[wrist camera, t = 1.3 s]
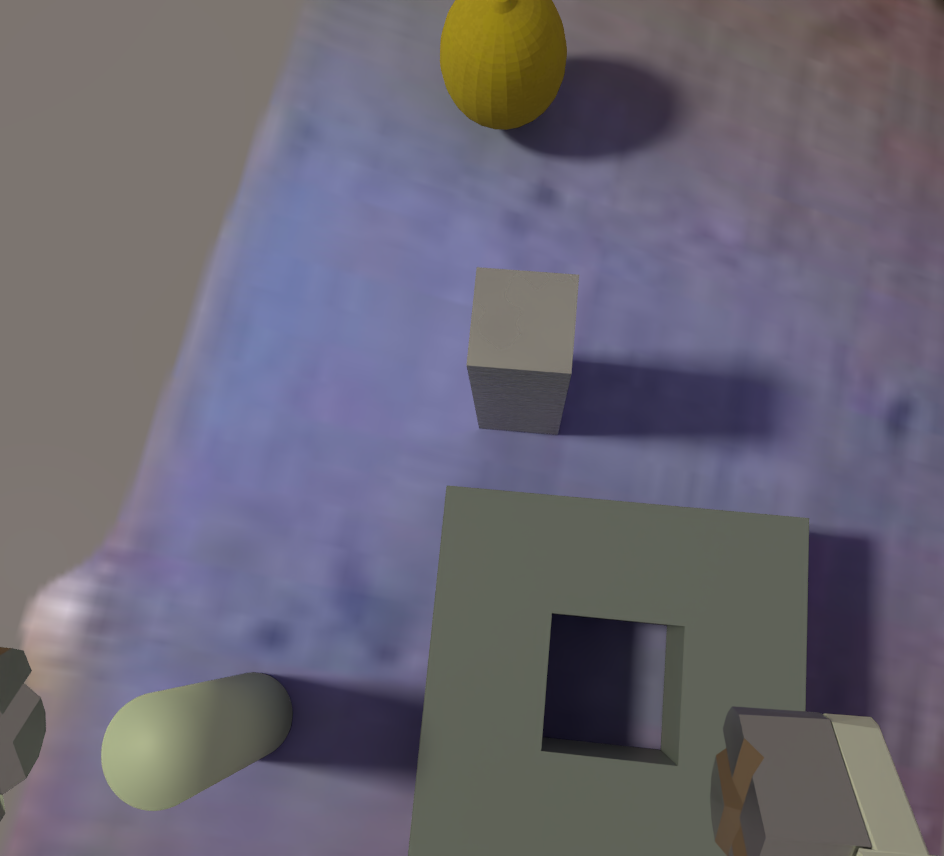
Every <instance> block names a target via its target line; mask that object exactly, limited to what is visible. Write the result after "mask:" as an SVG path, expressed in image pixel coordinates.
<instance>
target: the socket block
mask: <svg viewBox="0 0 944 856" xmlns="http://www.w3.org/2000/svg"><path fill="white" fill-rule="evenodd" d="M808 552H809V518H800V517H789V516H778V515H767V514H756V513H745V512H734V511H723V510H712V509H701V508H690V507H678V506H667V505H656V504H645V503H634V502H623V501H612V500H601V499H590V498H579V497H568V496H557V495H545V494H534V493H523V492H512V491H501V490H490V489H479V488H468V487H457V486H447V487H446V497H445V506H444V516H443V525H442V535H441V545H440V554H439V564H438V573H437V583H436V592H435V602H434V611H433V621H432V631H431V640H430V650H429V659H428V669H427V678H426V688H425V697H424V707H423V717H422V726H421V736H420V745H419V755H418V764H417V774H416V784H415V793H414V803H413V812H412V822H411V831H410V841H409V850H408V856H727V855H726V854H725V853H724V852H723V851H722V849H721V848H720V847H719V846H718V845H717V844H716V842H715V840H714V833H713V827H712V820H711V807H710V791H711V775H712V770H713V766H714V761H715V757H716V755H717V754H718V753H720V752H721V751H723V750H724V749H725V748H726V744H725V738H724V733H723V726H724V722H725V719H726V715H727V713H728V711H729V710H730V708H731V707H732V706H735V707H749V708H763V709H778V710H792V711H805V708H806V656H807V604H808ZM552 614H559V615H569V616H579V617H589V618H599V619H609V620H619V621H629V622H639V623H649V624H659V625H667V636H666V656H665V676H664V695H663V715H662V734H661V750H657V749H648V748H638V747H629V746H620V745H611V744H602V743H593V742H584V741H574V740H565V739H556V738H547V737H542V734H543V721H544V708H545V695H546V682H547V669H548V656H549V644H550V631H551V618H552Z"/></svg>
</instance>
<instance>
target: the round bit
mask: <svg viewBox="0 0 944 856" xmlns="http://www.w3.org/2000/svg"><path fill="white" fill-rule="evenodd" d="M292 716H293V711H292V704H291V700H290V697H289V695H288V693H287V691H286V690H285V688H284V687H283V686H282V685H281V684H280V683H279V682H278V681H277V680H276V679H274V678H273V677H271V676H269V675H266V674H263V673H256V672H251V673H244V674H239V675H235V676H230V677H225V678H220V679H215V680H211V681H206V682H201V683H196V684H191V685H186V686H182V687H177V688H172V689H167V690H162V691H158V692H153V693H148V694H144V695H142V696H139V697H137V698H135V699H133V700H131V701H130V702H129V703H127V704H126V705H125V706H123V707H122V708H121V709H120V710H119V711H118V712H117V714H116V715H115V716H114V718H113V719H112V720H111V722H110V724H109V726H108V728H107V730H106V733H105V735H104V739H103V743H102V750H101V760H102V768H103V772H104V775H105V778H106V780H107V782H108V784H109V786H110V788H111V789H112V790H113V792H114V793H115V794H116V795H117V796H118V797H119V798H120V799H121V800H123V801H124V802H125V803H127V804H129V805H131V806H133V807H135V808H138V809H142V810H149V811H157V810H164V809H168V808H171V807H174V806H176V805H178V804H180V803H181V802H183V801H185V800H187V799H189V798H191V797H192V796H194V795H196V794H198V793H200V792H201V791H203V790H205V789H207V788H209V787H210V786H212V785H214V784H216V783H218V782H219V781H221V780H223V779H225V778H227V777H229V776H230V775H232V774H234V773H236V772H238V771H239V770H241V769H243V768H245V767H247V766H248V765H250V764H252V763H254V762H256V761H257V760H259V759H261V758H263V757H265V756H266V755H268V754H270V753H272V752H273V751H275V750H276V749H277V748H278V747H279V746H280V745H281V744H282V743H283V741H284V740H285V738H286V737H287V735H288V733H289V730H290V727H291V723H292Z"/></svg>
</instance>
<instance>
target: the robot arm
mask: <svg viewBox="0 0 944 856" xmlns="http://www.w3.org/2000/svg"><path fill="white" fill-rule="evenodd" d="M31 671H32V670H31V668H30V666H29V663H28V661H27V658H26V656H25V653H24V651H22V650H17V649H13V648H4V647H0V821H1V819H2V818H3V816H4V815H5V808H4V801H3V794H4V793H6V792H7V791H9V790H10V789H12V788H13V787H14V786H16V785H17V784H19V783H20V782H22V781H23V780H25V779H26V778H27V776H28V774H29V772H30V771H31V769H32V767H33V765H34V764H35V762H36V760H37V758H38V757H39V753H40V750H41V746H42V743H43V739H44V735H45V732H46V718H45V709H44V706H43V703H42V700H41V697H40V696H38V695H37V694H36V693H35V692H34V691H32V690H31V689H30V688H29V687H28V686H27V685H25V684H24V682H25V680H26V679H27V677H28V676H29V674H30V673H31ZM723 733H724V738H725V744H726V748H725V749H724V750H723V751H721V752H720V753H718V754H717V755H716V757H715V761H714V766H713V770H712V775H711V791H710V807H711V820H712V827H713V833H714V840H715V842H716V844H717V845H718V846H719V847H720V848H721V849H722V851H723V852H724V853H725V854H726V855H727V856H936V855H929V852H928V850H927V847H926V845H925V842H924V840H923V837H922V835H921V832H920V829H919V827H918V824H917V822H916V819H915V817H914V814H913V811H912V809H911V806H910V804H909V801H908V799H907V796H906V794H905V791H904V788H903V786H902V783H901V781H900V778H899V776H898V773H897V771H896V768H895V765H894V763H893V760H892V758H891V755H890V753H889V750H888V747H887V745H886V742H885V740H884V737H883V735H882V732H881V730H880V727H879V725H878V724H877V723H876V722H875V721H874V720H873V718H872V717H864V716H851V715H838V714H826V713H825V714H821V713H819V712H806V711H792V710H778V709H763V708H749V707H735V706H732V707H731V708H730V710H729V711H728V713H727V715H726V719H725V722H724V726H723Z"/></svg>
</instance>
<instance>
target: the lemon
mask: <svg viewBox="0 0 944 856" xmlns="http://www.w3.org/2000/svg"><path fill="white" fill-rule="evenodd" d="M566 57H567V47H566V40H565V34H564V28H563V24H562V21H561V18H560V16H559V13H558V11H557V9H556V7H555V5H554V3H553V2H552V0H455V2H454V3H453V5H452V7H451V8H450V10H449V12H448V15H447V18H446V21H445V24H444V28H443V31H442V35H441V43H440V66H441V71H442V75H443V78H444V82H445V85H446V88H447V91H448V93H449V94H450V96H451V98H452V99H453V101H454V103H455V104H456V106H457V107H458V108H459V109H460V110H461V111H462V112H463V113H464V114H465V115H466V116H467V117H468V118H469V119H471V120H472V121H474V122H476V123H478V124H480V125H482V126H485V127H489V128H493V129H505V130H508V129H513V128H518V127H521V126H523V125H525V124H527V123H530V122H532V121H533V120H535V119H536V118H537V117H539V116H540V115H541V114H543V113H544V112H545V111H546V109H547V108H548V107H549V105H550V104H551V103H552V101H553V100H554V99H555V97H556V95H557V92H558V90H559V88H560V85H561V83H562V80H563V77H564V73H565V65H566Z"/></svg>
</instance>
